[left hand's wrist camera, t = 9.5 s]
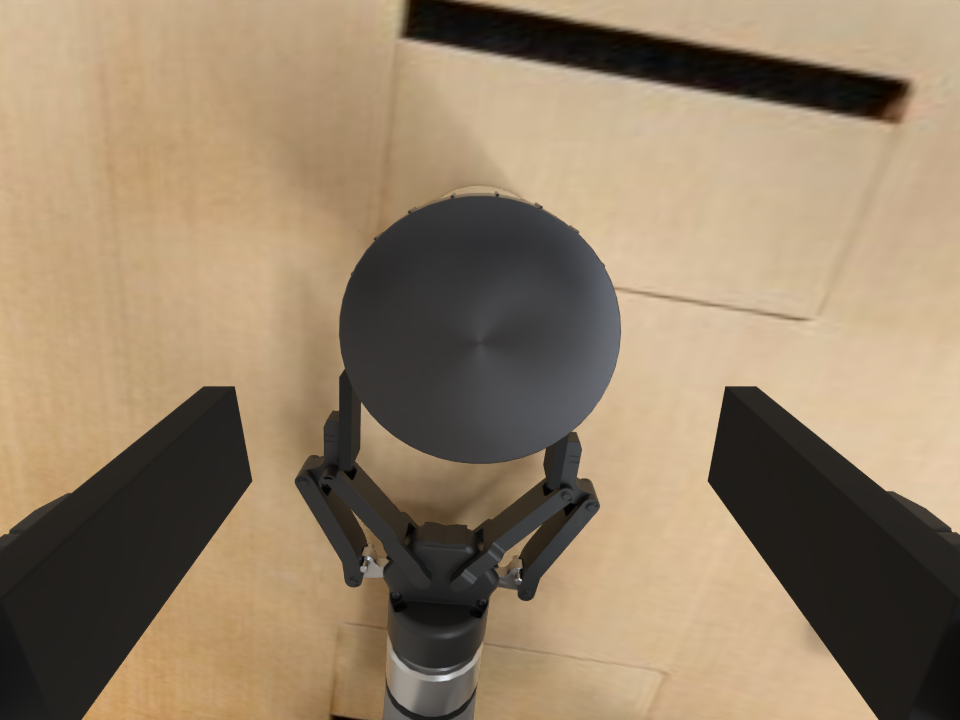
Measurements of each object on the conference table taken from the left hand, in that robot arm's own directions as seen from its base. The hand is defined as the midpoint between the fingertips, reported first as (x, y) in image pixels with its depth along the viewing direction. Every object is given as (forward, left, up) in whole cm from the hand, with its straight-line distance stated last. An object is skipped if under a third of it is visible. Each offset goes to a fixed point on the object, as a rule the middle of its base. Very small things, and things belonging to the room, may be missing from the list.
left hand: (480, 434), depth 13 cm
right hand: (+5, +4, -18) cm, 19 cm away
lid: (0, 0, -7) cm, 7 cm away
